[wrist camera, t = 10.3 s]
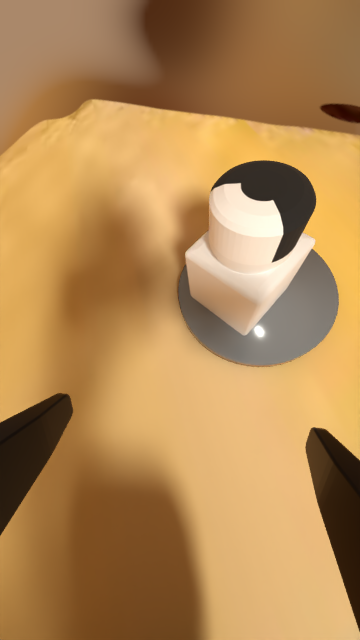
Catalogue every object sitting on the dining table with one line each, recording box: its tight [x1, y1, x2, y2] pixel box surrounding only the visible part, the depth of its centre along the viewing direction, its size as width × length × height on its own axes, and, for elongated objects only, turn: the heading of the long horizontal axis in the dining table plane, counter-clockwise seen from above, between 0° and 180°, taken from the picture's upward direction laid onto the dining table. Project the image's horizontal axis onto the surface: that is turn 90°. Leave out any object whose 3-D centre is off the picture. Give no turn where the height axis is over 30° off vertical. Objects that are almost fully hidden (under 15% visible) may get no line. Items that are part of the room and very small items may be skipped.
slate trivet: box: [178, 249, 339, 367], centre depth 24 cm, size 16×16×2 cm
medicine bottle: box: [185, 161, 316, 336], centre depth 18 cm, size 7×7×12 cm
